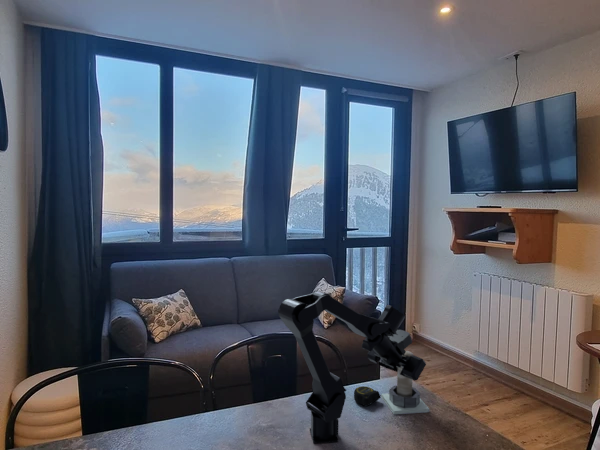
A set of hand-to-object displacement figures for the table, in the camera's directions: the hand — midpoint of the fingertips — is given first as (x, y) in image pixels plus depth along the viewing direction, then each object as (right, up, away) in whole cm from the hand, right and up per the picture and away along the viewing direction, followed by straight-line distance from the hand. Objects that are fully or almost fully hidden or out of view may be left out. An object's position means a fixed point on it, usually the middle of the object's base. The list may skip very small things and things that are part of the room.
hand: (407, 374), depth 125 cm
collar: (-1, -9, 0) cm, 9 cm away
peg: (-1, -7, 0) cm, 7 cm away
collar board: (-1, -9, 0) cm, 9 cm away
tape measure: (-12, -9, +1) cm, 15 cm away
